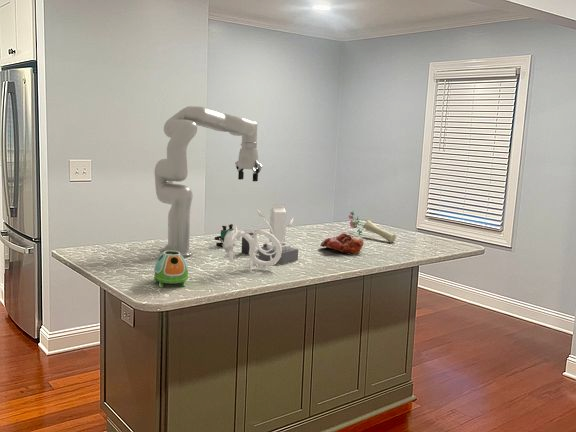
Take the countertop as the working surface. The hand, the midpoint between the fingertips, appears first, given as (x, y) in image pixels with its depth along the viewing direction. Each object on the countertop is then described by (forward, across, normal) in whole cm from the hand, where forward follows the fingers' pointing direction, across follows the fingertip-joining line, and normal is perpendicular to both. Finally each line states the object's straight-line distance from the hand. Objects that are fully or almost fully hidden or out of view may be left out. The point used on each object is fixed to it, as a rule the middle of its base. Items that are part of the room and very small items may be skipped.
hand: (247, 180), depth 286 cm
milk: (+31, +23, -3) cm, 39 cm away
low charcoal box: (+31, +36, -18) cm, 51 cm away
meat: (+32, +45, +20) cm, 58 cm away
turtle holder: (+32, +32, -77) cm, 89 cm away
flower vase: (+32, +37, +61) cm, 78 cm away
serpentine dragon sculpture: (+31, +38, -35) cm, 60 cm away
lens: (+31, +19, -20) cm, 42 cm away
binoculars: (+32, 0, -16) cm, 35 cm away
